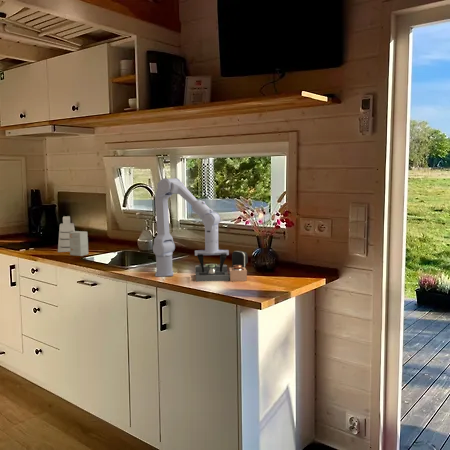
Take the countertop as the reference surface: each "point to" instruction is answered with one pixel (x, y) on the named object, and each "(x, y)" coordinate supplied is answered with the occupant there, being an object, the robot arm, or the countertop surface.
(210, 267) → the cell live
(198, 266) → the tester
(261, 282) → the countertop surface
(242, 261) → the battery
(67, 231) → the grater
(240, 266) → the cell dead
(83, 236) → the small box
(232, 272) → the cup
